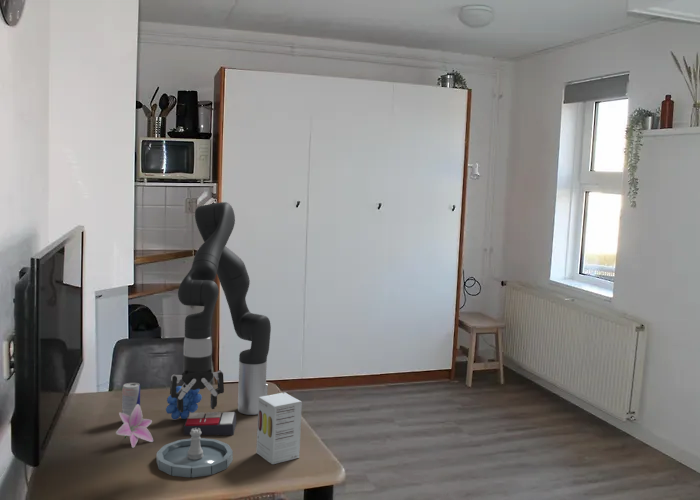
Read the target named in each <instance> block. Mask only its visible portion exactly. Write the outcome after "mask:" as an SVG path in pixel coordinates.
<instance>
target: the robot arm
mask: <svg viewBox="0 0 700 500" xmlns="http://www.w3.org/2000/svg"><path fill="white" fill-rule="evenodd" d="M235 216H236V215H235V211H234V208H233V206H232V204H231V203H229V202H226V201H225V202H224V201H223V202H215V203H210V204H204V205H200V206H197V207H196V208H195V212H194V218H195V223H196V227H197V230H198V231H199V234H200V235H201V238H202V240H203V243H202V244H201V245H200V246H199V247H198V249H197V250H196V252H195V254H194V257H193V262H192V264H191V268H190V270H189V271H188V273H186V275H185V277H184V278H183V280H182V281H181V282H180V284H179V286H178V289H177V299H178V301H179V302H180V303H181V304H182V305H183V306H188V307H189V306H190V307H192V306H193V307H203V310H202V311H201V312H196V313H191V314H188V315H187V316H185V319H184V340H183V363H182V364H183V368H182V369H183V370H182V373H181V374H176V373H173V374H171V375H170V389H169V390H170V391H169V394H170V395H171V397H172V398H177V408H178V411H180V413H181V412H183V397H184V395H185V394H186V393H187V392H188V391H189V390H190V389H192V390H196V389H200V390H205V388H207V390H208V391H209V392H210V409H211V410H215V408H216V407H218V395H220V394H223V393H224V392H225V389H224V388H225V385H224V384H225V383H224V373H223V372H222V371H221V369H218V370H217V371H214V372H213V370H212V369H213V366H212V361H213V360H212V359H213V357H212V356H213V342H212V321H213V320H212V319H213V315H214V311H215V307H216V305H217V301H218V296H219V293H220V291H219V286H218V284H217V283H216V282H215V281H214V280H215V279H216V276H217V278H218V281H219V284H220V286H221V289H222V291H223V293H224V296H225V300H226V302H227V306H228V308H229V313H230V317H231V321H232V325H233V329H234V332H235V334H236V336H237V337H238V338H239V339H241V340H244V341H249V342H250V343H251V344H250V348H249V349H245V350H242V351H240V353H239V355H238V356H239V360H238V362H239V363H238V387H237V391H238V392H237V393H238V394H237V396H238V397H237V412H238V413H240V414H244V415H249V416H251V415H253V416H254V415H255V416H256V415H258V402H259V397H261V396H267V395H268V387H269V386H268V383H267V368H268V367H267V366H268V363H267V361H268V355H269V351H270V343H271V342H270V341H271V330H272V328H271V327H272V325H271V324H272V323H271V321H270V318H269V317H268V316H266V315H265V314H264V315H263V314H258V313H252V312H251V311H250V309H249V308H248V305H247V301H246V300H247V299H246V296H247V295H248V294H247V293H248V291H249V288H250V284H251V283H250V282H251V281H250V277H249V274H248V270H247V267H246V264H245V262H244V261H243V260H242V258H240V256H238V255H237V254H236V253H235V252H233V250H231V249H230V248H229V247H227V246H226V245H227V244H228V241H229V239H230V236H231V234H232V232H233V230H234V228H235V224H236V223H235V222H236V217H235ZM213 378H215V380H216V381H217V388H214V387H213V385H212V384H211V381H212V380H213ZM181 380H182V381H183V384H182V385H181V386H182V387H181V389H180V390H179V392H178V393H177V392H176V387H177V386H178V384H179V383H180V382H181ZM187 388H188V389H187ZM170 395H169V396H170Z"/></svg>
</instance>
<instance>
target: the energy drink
mask: <svg viewBox="0 0 700 500" xmlns="http://www.w3.org/2000/svg"><path fill="white" fill-rule="evenodd" d="M121 395H122V402H121V403H122V405H121V406H122V407H121V409H122V410H121V411H122V412H121V413H125V414H127V415H129V416H130V415H131V413H132V412H133V410H134V408H135V406H136V405H137V404H139V405H140V406H141V385H140V383H138V382H128V383H127V382H126V383H124V384H123V385H122V394H121ZM121 421H122V423H123V424H124V422H123V420H122V419H121Z"/></svg>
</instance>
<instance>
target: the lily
mask: <svg viewBox="0 0 700 500" xmlns="http://www.w3.org/2000/svg"><path fill="white" fill-rule="evenodd" d="M118 415H119V417H120V419H121V421H122V420H123V422H124V423H123V422H122V423H123V424H121V426H120V427H119V428H118V429H117V430H116V431H115V435H118V436H125V437H124V439H126V438H127V437H129V440H130V444H131V448H135V447H136V446H137V443H138V441H139V439H141V440H144V441H147V442H149V443H153V442H154V437H153V435H152V433H151V432H150V430H149V429H148V427H149V426H150V425H151V424H152V423H153V420H152V419H149V418H143V417H144V416H143V411H142V407H141V404H140V405H139V404H137V405H136V406H135V408H134V410H133V412H132V413H131V415H130V416H129V415H127V414H125V413H122V412H118Z"/></svg>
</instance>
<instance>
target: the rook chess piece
mask: <svg viewBox="0 0 700 500" xmlns="http://www.w3.org/2000/svg"><path fill="white" fill-rule="evenodd" d="M201 433H202V432H201V431H200V428H198V429H196V428H195V430H194V428H193V429H191V432H190V435H189V436H190V439H191V446H190V448H189V450H188V452H187V453H188V455H187V457H188V458H189V459H190V460H199V459H201V458H202V457H203V450H202V448H201V446H200V439H201V438H202V437H201V436H202V435H201Z"/></svg>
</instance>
